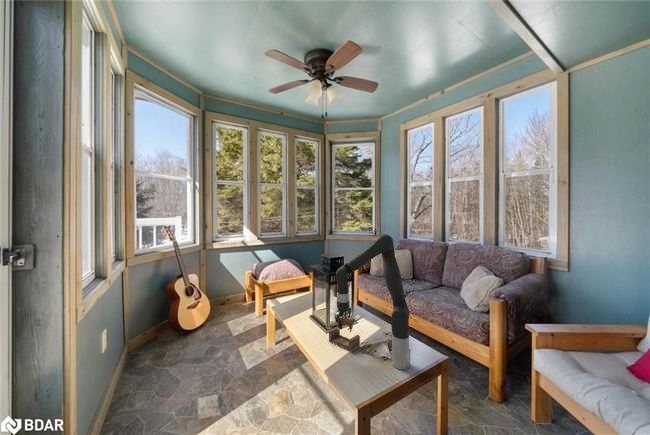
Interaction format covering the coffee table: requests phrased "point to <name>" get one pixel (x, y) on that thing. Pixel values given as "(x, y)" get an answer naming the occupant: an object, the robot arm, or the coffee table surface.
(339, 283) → the robot arm
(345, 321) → the bull figurine
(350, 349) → the keeper cradle
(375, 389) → the coffee table surface
